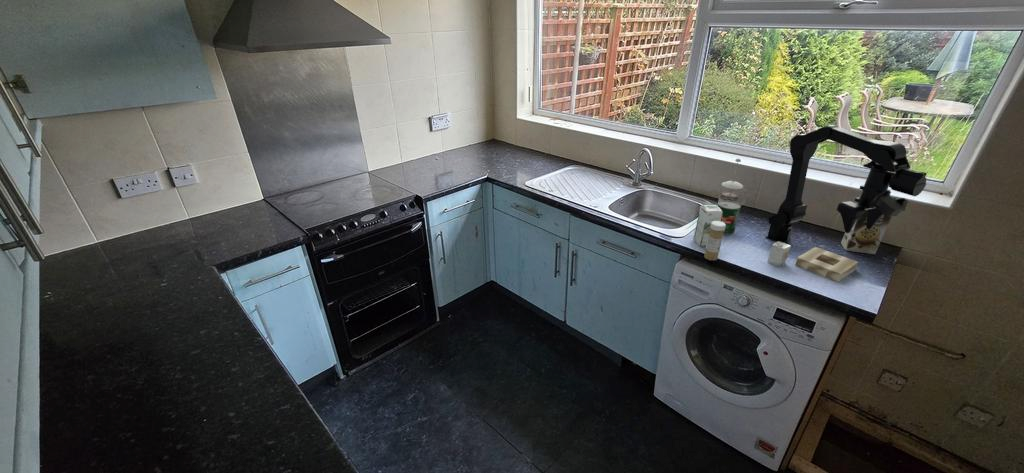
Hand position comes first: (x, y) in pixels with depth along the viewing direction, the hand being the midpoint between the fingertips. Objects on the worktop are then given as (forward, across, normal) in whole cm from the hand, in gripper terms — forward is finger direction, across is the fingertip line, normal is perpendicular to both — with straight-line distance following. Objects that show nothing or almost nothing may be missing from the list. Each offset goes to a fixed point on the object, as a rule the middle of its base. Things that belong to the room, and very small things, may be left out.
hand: (857, 230), depth 139 cm
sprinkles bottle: (+14, -37, +19) cm, 44 cm away
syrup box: (+15, -32, +29) cm, 46 cm away
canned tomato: (+15, -17, +36) cm, 43 cm away
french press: (+15, -6, +47) cm, 49 cm away
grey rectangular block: (+14, -18, +9) cm, 25 cm away
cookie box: (+14, +18, +8) cm, 24 cm away
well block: (+14, -6, +2) cm, 15 cm away
